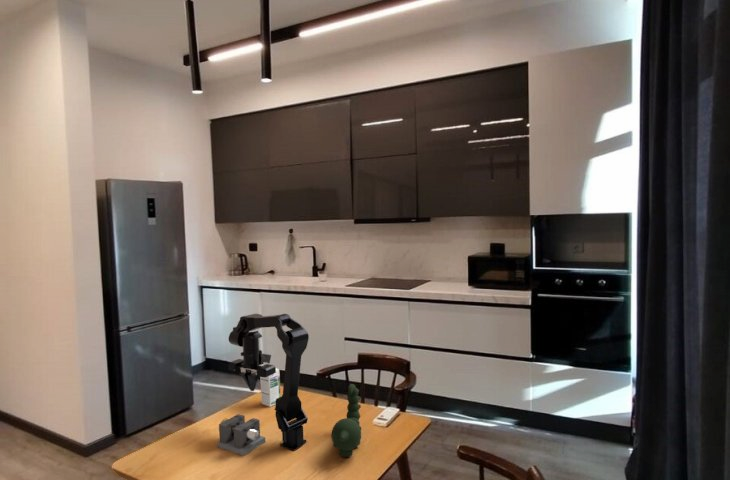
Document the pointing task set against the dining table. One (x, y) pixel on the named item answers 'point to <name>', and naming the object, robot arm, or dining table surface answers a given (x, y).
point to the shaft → (249, 433)
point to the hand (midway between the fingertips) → (252, 390)
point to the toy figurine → (348, 426)
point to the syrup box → (270, 388)
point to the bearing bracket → (239, 435)
